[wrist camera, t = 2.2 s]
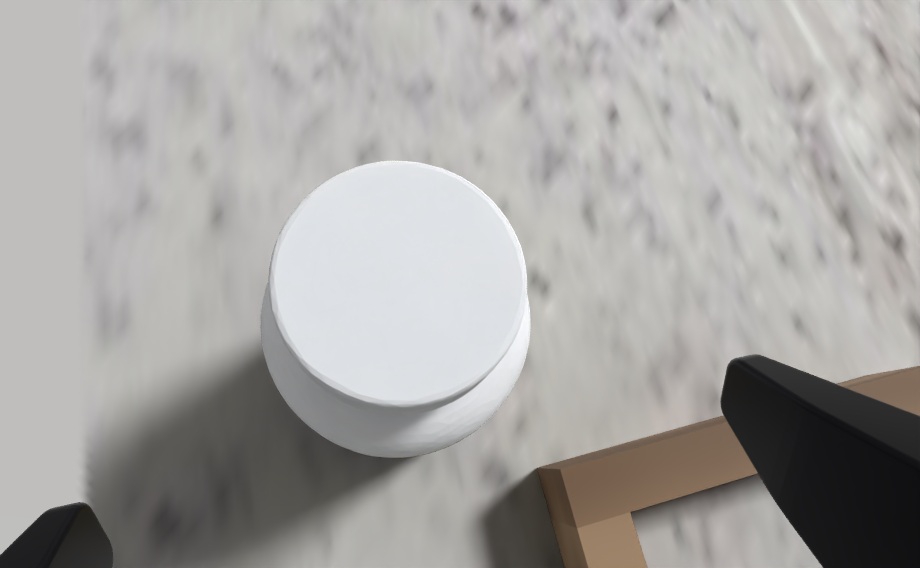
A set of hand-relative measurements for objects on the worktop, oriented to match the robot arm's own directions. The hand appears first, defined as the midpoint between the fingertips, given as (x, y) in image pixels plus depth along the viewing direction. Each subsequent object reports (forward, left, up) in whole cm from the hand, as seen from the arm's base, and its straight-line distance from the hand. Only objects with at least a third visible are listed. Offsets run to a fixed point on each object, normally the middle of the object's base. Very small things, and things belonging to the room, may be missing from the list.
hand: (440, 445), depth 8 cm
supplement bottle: (+3, 0, -10) cm, 10 cm away
